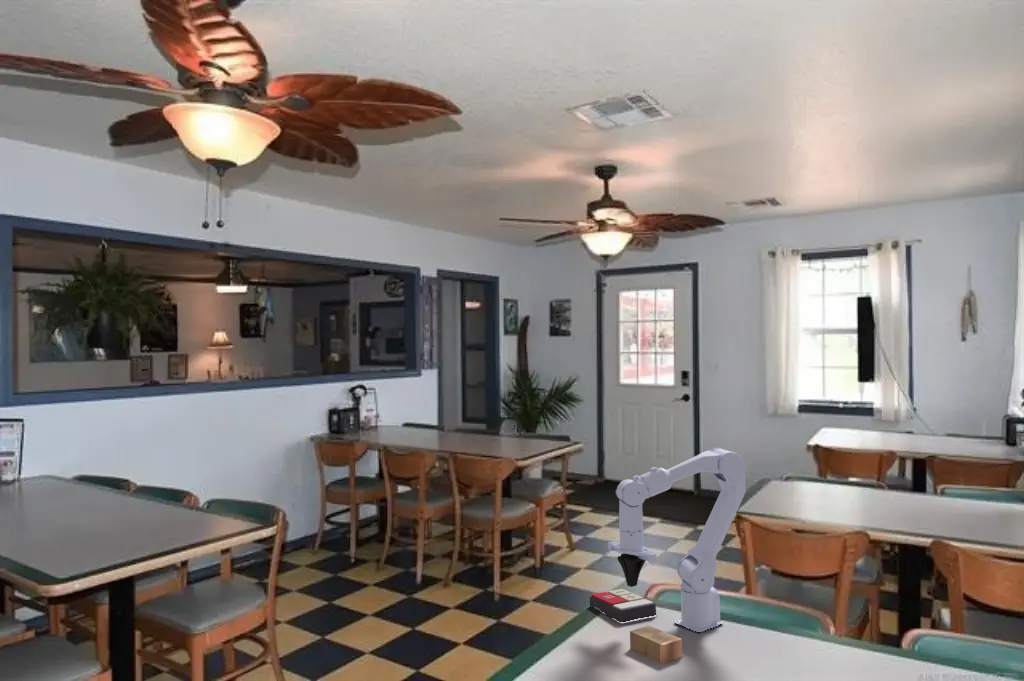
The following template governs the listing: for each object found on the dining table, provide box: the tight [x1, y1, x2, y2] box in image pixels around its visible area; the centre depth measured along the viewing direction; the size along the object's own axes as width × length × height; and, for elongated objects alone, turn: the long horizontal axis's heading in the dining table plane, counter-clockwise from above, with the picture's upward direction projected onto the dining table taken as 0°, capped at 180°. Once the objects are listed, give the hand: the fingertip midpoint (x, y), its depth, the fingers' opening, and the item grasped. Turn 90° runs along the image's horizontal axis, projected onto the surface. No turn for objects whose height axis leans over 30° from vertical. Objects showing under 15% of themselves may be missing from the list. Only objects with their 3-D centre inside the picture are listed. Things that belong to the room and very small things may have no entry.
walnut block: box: [629, 624, 683, 664], centre depth 155 cm, size 6×4×10 cm
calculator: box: [589, 588, 657, 622], centre depth 181 cm, size 11×4×15 cm
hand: (632, 585), depth 170 cm, fingers closed
